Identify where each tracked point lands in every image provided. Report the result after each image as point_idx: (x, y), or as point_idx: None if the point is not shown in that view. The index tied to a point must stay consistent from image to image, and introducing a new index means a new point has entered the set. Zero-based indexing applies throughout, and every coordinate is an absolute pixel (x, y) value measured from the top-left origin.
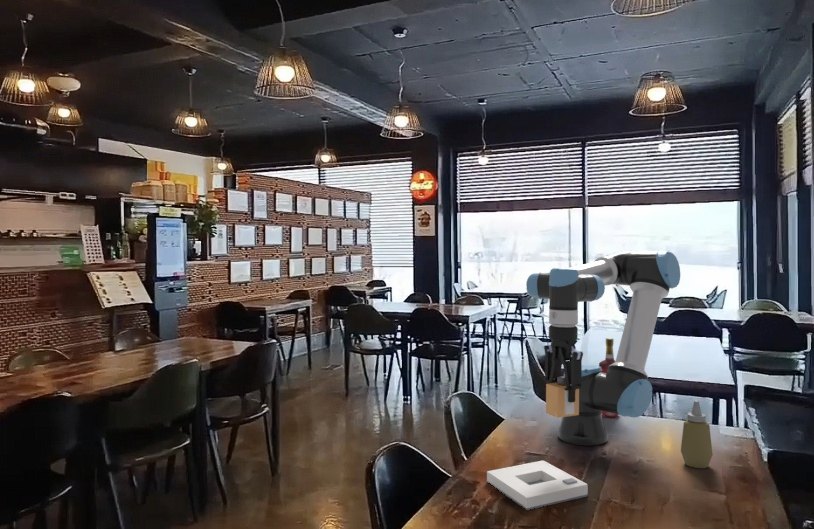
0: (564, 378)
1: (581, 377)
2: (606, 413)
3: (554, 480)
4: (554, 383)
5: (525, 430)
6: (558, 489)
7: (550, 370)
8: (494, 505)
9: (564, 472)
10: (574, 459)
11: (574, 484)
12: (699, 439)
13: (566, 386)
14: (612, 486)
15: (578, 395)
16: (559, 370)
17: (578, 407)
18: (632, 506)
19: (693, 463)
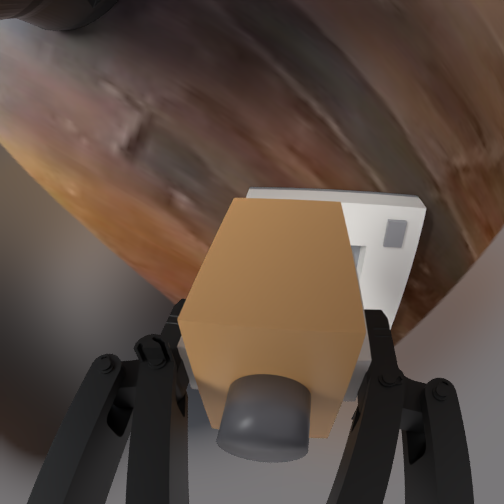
0: (304, 454)
1: (468, 455)
2: None
3: (367, 254)
4: (219, 406)
5: (9, 91)
6: (403, 274)
7: (112, 444)
8: None
9: (344, 205)
10: (207, 59)
11: (409, 233)
12: None
13: (353, 420)
14: (411, 103)
15: (355, 274)
16: (172, 466)
17: (344, 224)
18: (492, 156)
19: None
